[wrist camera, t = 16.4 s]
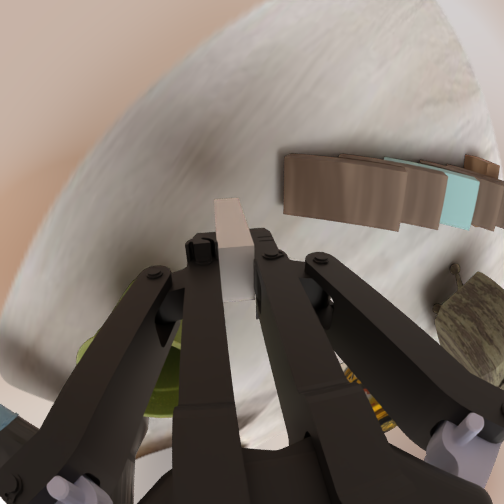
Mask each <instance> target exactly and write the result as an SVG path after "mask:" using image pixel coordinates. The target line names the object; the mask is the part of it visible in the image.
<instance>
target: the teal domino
mask: <svg viewBox="0 0 504 504" xmlns="http://www.w3.org/2000/svg"><path fill="white" fill-rule="evenodd" d="M384 160H388V161H394V162H400V163H405V164H410V165H415V166H420V167H425V168H429V169H434V170H438V171H443V172H444V173H445V174H446V175H447V176H448V181H447V187H446V193H445V199H444V204H443V209H442V214H441V218H440V223H441V224H445V225H449V226H453V227H457V228H461V229H465V230H469V229H470V225H471V221H472V217H473V213H474V209H475V204H476V199H477V194H478V189H479V183H480V182H479V181H478V180H477V179H476V178H474V177H472V176H468V175H464V174H461V173H457V172H453V171H449V170H445V169H441V168H437V167H433V166H428V165H424V164H419V163H414V162H409V161H404V160H399V159H394V158H388V157H384Z"/></svg>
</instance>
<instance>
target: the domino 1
mask: <svg viewBox="0 0 504 504" xmlns="http://www.w3.org/2000/svg"><path fill="white" fill-rule="evenodd" d="M407 175H408V172H407V171H406V169H405V168H404V167H398V166H392V165H386V164H380V163H374V162H367V161H360V160H352V159H344V158H336V157H327V156H316V155H305V154H293V153H291V154H289V155H287V156H285V157H284V209H283V214H287V215H294V216H301V217H309V218H316V219H323V220H329V221H336V222H343V223H349V224H355V225H362V226H368V227H374V228H380V229H386V230H391V231H397V232H398V231H399V226H400V220H401V215H402V209H403V203H404V197H405V190H406V183H407Z"/></svg>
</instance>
